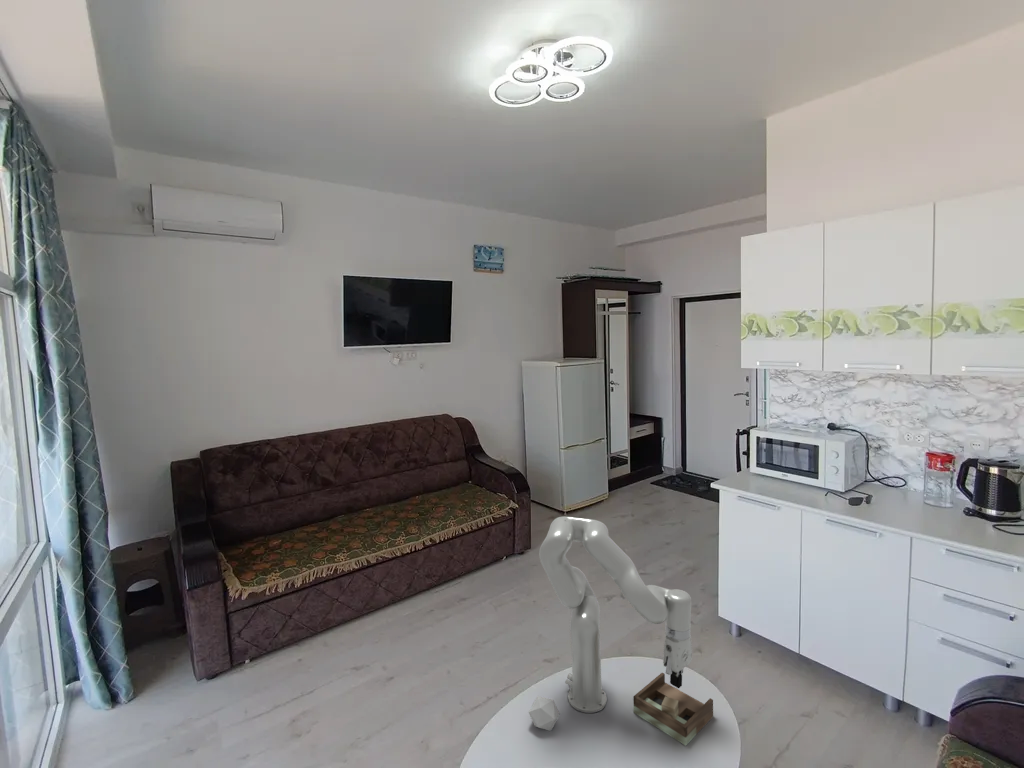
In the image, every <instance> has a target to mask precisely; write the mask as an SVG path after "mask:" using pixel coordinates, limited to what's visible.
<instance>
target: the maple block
mask: <svg viewBox="0 0 1024 768" xmlns="http://www.w3.org/2000/svg"><path fill="white" fill-rule="evenodd" d="M662 711H663V712H665V713H666V714H668V715H670V716H671V717H673V718H674V719H676V718H677V715H678V700H675V699H672V698H669V697H666V696H665V698H664V700H663V702H662Z"/></svg>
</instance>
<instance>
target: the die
mask: <svg viewBox="0 0 1024 768" xmlns="http://www.w3.org/2000/svg"><path fill="white" fill-rule="evenodd" d="M560 714H561V713H560V711H559V709H558V707H557V705H556V703H555V700H554V699H552V698H549V697H548V698H547V697H544V696H540V695H537V696H536V697H535V699H534V701H533V703H532V705H531V707H530V708H529V711H528V715H529V717H530V719H531V721H532V723H533V724H534V727H536V728H539V729H542V730H546V731H550V732H552V730H553V728H554V726H555V724H556V722H557V721H558V718H559V716H560Z"/></svg>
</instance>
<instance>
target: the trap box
mask: <svg viewBox="0 0 1024 768" xmlns="http://www.w3.org/2000/svg"><path fill="white" fill-rule="evenodd" d="M665 674H666V673H663V672H660V674H658V675H657V676H656V677H655V678H653V679H652V680H651V681H650V682H649V683H648V684H646V685H644V687H643V688H641V690H639V691H638V692H636V693H635V694H634V695H633V698H632V700H633V714H635V715H637V716H638V717H640V718H641V719H643V720H645V721H646V722H647V723H650V724H651V725H652V726H654V727H655V728H657V729H659V730H660V731H662V732H663V733H665V734H666V735H668V736H669V737H671V738H673V739H674V740H675V741H678V742H679V743H681V744H682V745H684V746H685V747H686V746H687V745H688V744H689V743H690V742H691V741H692V740H693V739H694V737H696V735H698V733H699V732H701V730H702V729H704V727H705V726H706V725H707V724H708V723H709V722H710V721H711V720H712V718H713V717H714V699H712V698H709V699H708V700H706V702H705V703H703V702H701V701H699V700H697V699H696V698H694V697H692V696H691V695H689V694H686V693H685V692H683V691H681V690H680V689H679V688H677V687H675V686H673V685H672V684H669V683H667V682H666V675H665ZM665 696H666V697H669V698H672V699H675V700H678V715H677V718H676V719H674V718H673V717H671V716H670V715H668V714H666V713H665V712H663V711H662V702H663V700H664V698H665Z"/></svg>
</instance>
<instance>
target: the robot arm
mask: <svg viewBox="0 0 1024 768" xmlns="http://www.w3.org/2000/svg"><path fill="white" fill-rule="evenodd" d="M573 542H575V543H576V542H577V543H582V546H583V548H584V550H585V551H586V552H587V554H588V555H589V556H590V557H592V559H594V561H595V562H596V563H597V564H598V565H599V566H600V567H601V568H602V569H603V570H604V571H605V572H606V573H607V575H609V577H611V578H612V580H613V582H614V583H615V585H616V586H617V587H618V589H619V590H620V591H621V593H622V595H623V597H625V599H626V600H627V602H628V603H629V604H630V605H631V606H632V607H633V609H635V611H636V612H637V613H638V614H639V615H640V616H642V617H643V619H645V620H646V621H647V622H648V623H651V624H654V625H660V624H662V623H665V625H664V626H665V627H664V628H665V629H664V631H665V633H664V634H665V637H664V638H665V639H664V643H663V653H662V654H663V657H662V664H663V667H666V668H665V674H667V675H668V676H670V677H669V678H670V681H669V683H670V685H671V686H673V687H674V688H676V689H680V688H681V687H682V686H683V674H684V668H686V667H687V666H688V665H690V664H691V662H692V659H693V645H692V643H693V642H692V635H691V623H692V619H691V618H692V617H691V616H692V597H691V595H690V594H689V593H688V592H687V591H685V590H682V589H677V588H675V589H670V588H666V587H662V586H659V585H655V584H648V585H646V584H645V582H644V581H643V579H642V578H641V576H640V574H639V572H638V569H637V566H636V565H635V563H634V562H633V560H632V559H631V558H630V556H629V555H628V554H626V553H625V551H624V550H623V549H622V548H620V546H619V545H618V544H616V543H615V541H614V540H613V539H612V538H611V537H610V535H609V529H608V527H607V525H606V524H605V523H603V522H602V521H601V520H597V519H592V518H583V517H582V518H581V517H575V516H574V517H573V516H559V517H558V516H557V517H556V518H554V520H553V521H552V522H551V523H550V526H549V529H548V531H547V534H546V536H545V538H544V540H543V541H542V543H541V545H540V547H539V551H538V553H539V554H538V555H539V556H538V557H539V561H540V564H541V566H542V568H543V569H544V572H545V574H546V575H547V578H548V580H549V582H550V584H551V587H552V588H553V591H554V592H555V595H556V596H557V598H558V601H559V603H561V605H562V606H563V607H565V608H567V609H571V613H570V619H569V633H570V634H569V635H570V645H571V646H570V648H571V649H570V651H571V653H570V654H571V672H569V673H568V674H567V679H565V684H566V685H568V686H569V687H570V690H569V691H568V695H567V696H568V702H569V704H570V706H571V707H572V708H574V709H575V710H577V711H579V712H582V713H585V714H586V713H587V714H591V713H596V712H600V711H601V710H603V709H604V708H605V707H606V705H607V701H608V700H607V695H606V692H605V691H604V689H603V688H602V687H603V686H602V656H601V655H602V654H601V607H600V603H599V600H598V597H597V596H596V594H595V591H594V589H593V588H592V586H591V584H590V582H589V580H588V578H587V576H586V574H585V573H584V572H583V571H582V570H581V569H580V568H579V567H576V566H573V565H572V564H571V562H570V561H569V559H568V558H567V553H568V551H569V550H570V549H571V547H572V545H573Z"/></svg>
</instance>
